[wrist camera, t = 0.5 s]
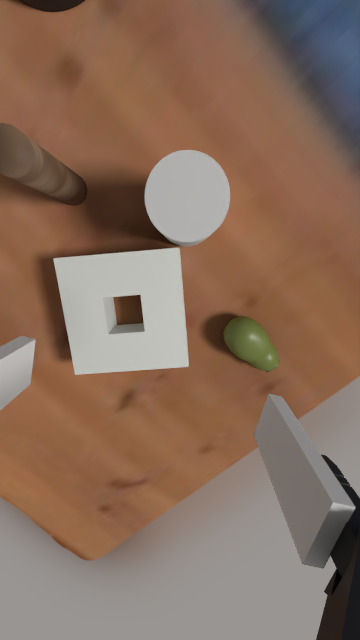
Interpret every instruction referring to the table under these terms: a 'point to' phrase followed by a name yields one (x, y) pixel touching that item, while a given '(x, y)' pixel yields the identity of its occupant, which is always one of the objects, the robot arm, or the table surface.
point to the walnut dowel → (38, 167)
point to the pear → (251, 343)
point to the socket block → (100, 318)
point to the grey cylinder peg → (187, 197)
